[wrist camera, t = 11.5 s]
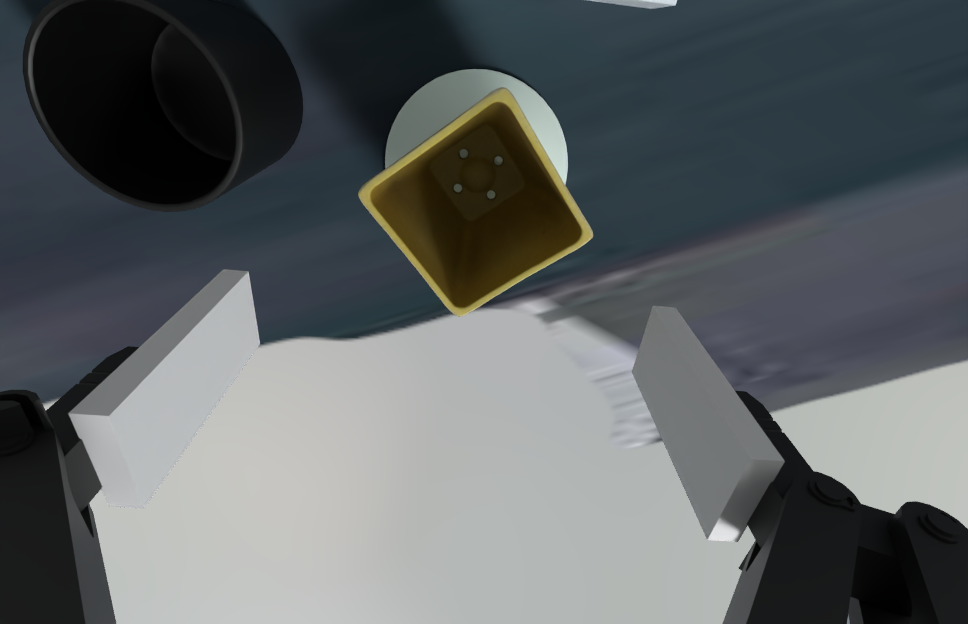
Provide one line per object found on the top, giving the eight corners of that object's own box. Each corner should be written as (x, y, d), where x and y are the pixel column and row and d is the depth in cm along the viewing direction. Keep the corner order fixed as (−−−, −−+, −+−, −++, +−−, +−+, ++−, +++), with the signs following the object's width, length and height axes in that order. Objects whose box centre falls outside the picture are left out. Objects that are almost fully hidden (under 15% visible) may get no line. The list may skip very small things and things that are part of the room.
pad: (385, 244, 35) (384, 246, 34) (386, 57, 29) (385, 57, 28) (549, 261, 35) (550, 262, 35) (584, 81, 29) (585, 81, 29)
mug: (77, -8, 27) (-87, -24, 19) (293, 5, 27) (217, -6, 20) (131, 163, 32) (16, 206, 24) (314, 172, 32) (260, 217, 24)
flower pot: (499, 68, 29) (506, 81, 21) (569, 189, 32) (597, 239, 25) (385, 152, 31) (352, 192, 23) (462, 256, 35) (456, 321, 27)
